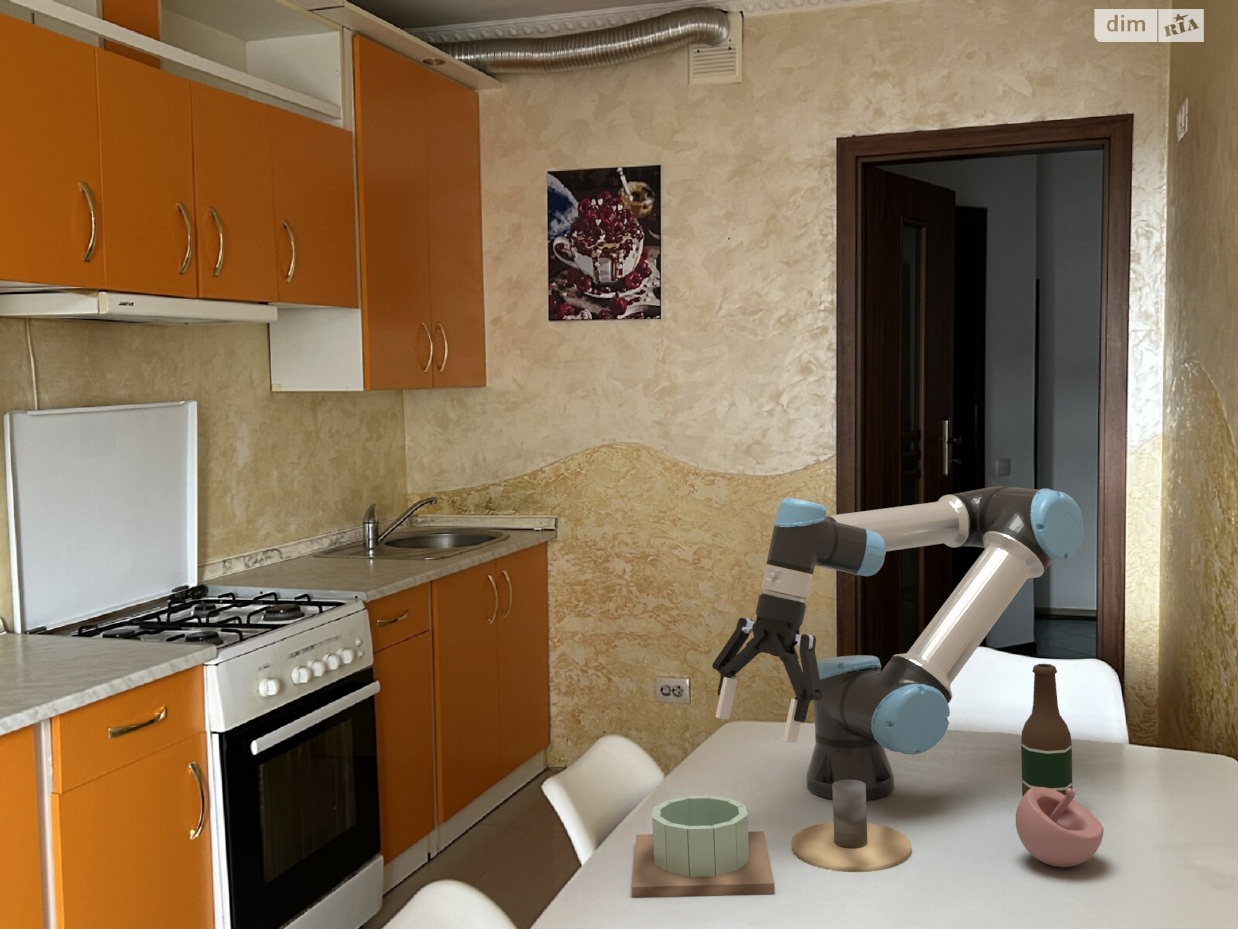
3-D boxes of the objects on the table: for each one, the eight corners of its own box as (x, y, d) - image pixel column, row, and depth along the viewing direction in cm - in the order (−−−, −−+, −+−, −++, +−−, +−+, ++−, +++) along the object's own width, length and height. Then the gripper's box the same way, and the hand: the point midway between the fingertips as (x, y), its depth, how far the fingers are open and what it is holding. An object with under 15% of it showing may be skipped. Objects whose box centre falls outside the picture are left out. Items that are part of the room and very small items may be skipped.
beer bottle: (1048, 822, 192) (1045, 673, 190) (1012, 808, 199) (1009, 664, 197) (1083, 812, 195) (1080, 666, 194) (1046, 799, 202) (1043, 657, 201)
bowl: (745, 839, 186) (743, 794, 186) (751, 875, 172) (749, 827, 172) (655, 841, 187) (653, 797, 187) (653, 878, 173) (651, 830, 173)
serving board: (763, 840, 189) (763, 831, 189) (774, 894, 169) (774, 883, 169) (636, 844, 190) (636, 834, 190) (632, 897, 170) (632, 887, 170)
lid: (899, 827, 193) (897, 764, 193) (922, 872, 175) (920, 803, 175) (786, 830, 194) (784, 768, 193) (798, 875, 176) (795, 806, 176)
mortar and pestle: (1095, 886, 167) (1093, 805, 166) (1007, 871, 173) (1005, 793, 173) (1111, 856, 177) (1109, 780, 177) (1027, 843, 184) (1025, 769, 183)
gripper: (709, 579, 196) (681, 707, 195) (835, 609, 178) (805, 751, 177) (737, 584, 201) (710, 710, 200) (863, 615, 183) (834, 752, 182)
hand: (755, 730), depth 188 cm, fingers open, 13 cm apart
